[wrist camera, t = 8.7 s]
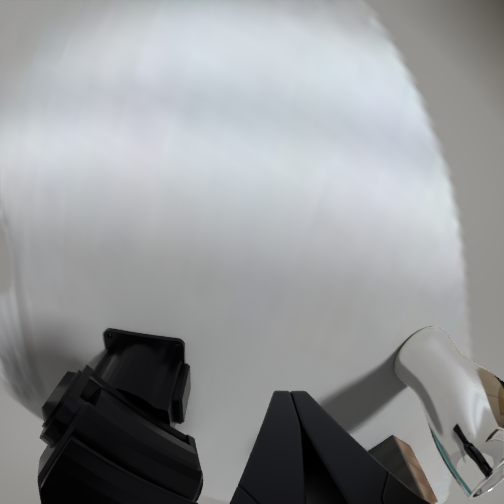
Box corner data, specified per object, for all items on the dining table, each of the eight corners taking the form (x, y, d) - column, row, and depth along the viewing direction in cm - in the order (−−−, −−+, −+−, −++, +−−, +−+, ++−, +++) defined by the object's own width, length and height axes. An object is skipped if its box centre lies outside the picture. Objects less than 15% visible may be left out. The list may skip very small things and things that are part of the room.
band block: (289, 494, 29) (297, 553, 19) (392, 435, 26) (422, 499, 16) (314, 500, 30) (324, 554, 20) (409, 445, 27) (437, 501, 18)
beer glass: (408, 392, 24) (474, 504, 10) (376, 362, 22) (456, 501, 8) (458, 345, 23) (546, 439, 8) (435, 306, 21) (550, 415, 7)
